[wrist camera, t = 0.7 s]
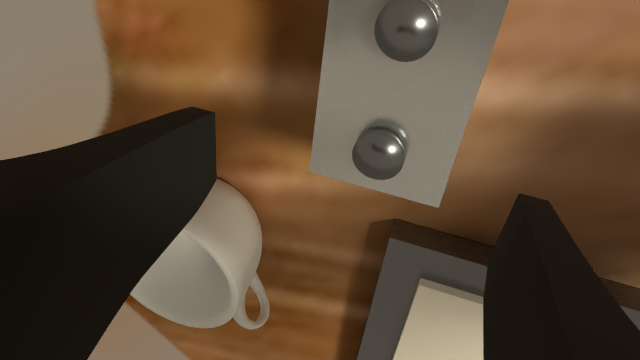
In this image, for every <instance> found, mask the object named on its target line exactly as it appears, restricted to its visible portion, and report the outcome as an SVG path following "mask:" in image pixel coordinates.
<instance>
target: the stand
mask: <svg viewBox="0 0 640 360" xmlns="http://www.w3.org/2000/svg"><path fill="white" fill-rule="evenodd" d="M493 249H494V247H492V246H488V245H485V244H481V243H478V242H474V241H471V240H467V239H464V238H460V237H457V236H453V235H450V234H446V233H443V232H439V231H436V230H433V229H429V228H426V227H422V226H419V225H415V224H412V223H408V222H405V221H401V220H398V219H395V221H394V224H393V228H392V231H391V235H390V238H389V242H388V245H387V249H386V253H385V256H384V260H383V264H382V268H381V271H380V275H379V279H378V282H377V286H376V290H375V294H374V297H373V301H372V305H371V308H370V312H369V316H368V320H367V323H366V327H365V331H364V334H363V338H362V342H361V346H360V349H359V353H358V357H357V360H483V297H484V289H485V281H486V274H487V267H488V260H489V258H490V256H491V253H492V251H493ZM598 278H599V277H598ZM599 279H600V280H601V282H602V283H603V285H604V286H605V287H606V289H607V290H608V291H609V293H610V294H611V295H612V296H613V298H614V299H615V300H616V302H617V303H618V304H619V306H620V307H621V308H622V309H623V311H624V312H625V313H626V315H627V316H628V317H629V318H630V319H631V321H632V322H633V323H634V324H635V325H636V327H637V328H638V329H639V330H640V289H637V288H634V287H630V286H627V285H623V284H620V283H616V282H613V281H610V280H606V279H603V278H599Z"/></svg>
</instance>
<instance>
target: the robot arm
mask: <svg viewBox="0 0 640 360" xmlns="http://www.w3.org/2000/svg"><path fill="white" fill-rule="evenodd" d="M216 180H217V178H216V138H215V113H214V112H210V111H207V110H203V109H199V108H195V107H189V108H185V109H181V110H178V111H174V112H171V113H168V114H165V115H162V116H159V117H156V118H153V119H150V120H147V121H145V122H142V123H139V124H136V125H133V126H130V127H127V128H124V129H121V130H118V131H115V132H112V133H109V134H105V135H102V136H99V137H96V138H92V139H89V140H86V141H82V142H79V143H76V144H72V145H69V146H65V147H61V148H58V149H53V150H50V151H45V152H41V153H36V154H32V155H27V156H23V157H17V158H12V159H6V160H0V360H87V359H88V357H89V356H90V354H91V353H92V351H93V350H94V348H95V346H96V345H97V343H98V342H99V340H100V338H101V337H102V335H103V334H104V332H105V331H106V329H107V327H108V326H109V324H110V323H111V321H112V320H113V318H114V317H115V315H116V314H117V312H118V311H119V309H120V308H121V306H122V305H123V303H124V302H125V300H126V299H127V297H128V296H129V294H130V293H131V291H132V290H133V289H134V287H135V286H136V285H137V284H138V282H139V281H140V280H141V278H142V277H143V276H144V275H145V273H146V272H147V271H148V270H149V269H150V267H151V266H152V265H153V264H154V263H155V262H156V260H157V259H158V258H159V257H160V256H161V254H162V253H163V252H164V251H165V250H166V249H167V247H168V246H169V245H170V244H171V243H172V241H173V240H174V239H175V238H176V237H177V236H178V234H179V233H180V232H181V231H182V230H183V228H184V227H185V226H186V225H187V224H188V222H189V221H190V220H191V219H192V218H193V216H194V215H195V214H196V213H197V211H198V210H199V208H200V207H201V205H202V204H203V202H204V200H205V199H206V197H207V196H208V194H209V192H210V191H211V189H212V187H213V185H214V184H215V182H216ZM483 360H640V330H639V329H638V328H637V327H636V325H635V324H634V323H633V322H632V321H631V319H630V318H629V317H628V316H627V315H626V313H625V312H624V311H623V309H622V308H621V307H620V306H619V304H618V303H617V302H616V300H615V299H614V298H613V296H612V295H611V294H610V293H609V291H608V290H607V289H606V287H605V286H604V285H603V283H602V282H601V280H600V279H599V278H598V276H597V275H596V273H595V272H594V271H593V269H592V268H591V266H590V265H589V263H588V262H587V260H586V259H585V257H584V256H583V254H582V253H581V251H580V250H579V248H578V247H577V245H576V244H575V242H574V240H573V239H572V237H571V236H570V234H569V233H568V231H567V229H566V228H565V226H564V225H563V223H562V221H561V220H560V218H559V217H558V215H557V213H556V212H555V210H554V209H553V207H552V206H551V204H550V203H549V201H546V200H542V199H539V198H535V197H531V196H527V195H523V194H520V193H519V194H518V196H517V199H516V201H515V203H514V205H513V207H512V210H511V212H510V214H509V216H508V218H507V221H506V223H505V225H504V227H503V229H502V231H501V234H500V236H499V238H498V240H497V242H496V245H495V247H494V249H493V251H492V253H491V256H490V258H489V260H488V267H487V274H486V281H485V289H484V297H483Z"/></svg>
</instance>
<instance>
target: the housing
mask: <svg viewBox="0 0 640 360" xmlns="http://www.w3.org/2000/svg"><path fill="white" fill-rule="evenodd" d="M508 1H509V0H329V7H328V16H327V24H326V33H325V41H324V50H323V58H322V67H321V75H320V84H319V92H318V101H317V109H316V118H315V126H314V135H313V143H312V152H311V160H310V169H309V172H312V173H316V174H319V175H323V176H327V177H330V178H334V179H337V180H341V181H344V182H348V183H351V184H355V185H358V186H362V187H366V188H369V189H373V190H376V191H380V192H383V193H387V194H390V195H394V196H398V197H401V198H405V199H408V200H412V201H415V202H419V203H422V204H426V205H429V206H433V207H437V208H439V205H440V203H441V200H442V197H443V194H444V191H445V188H446V185H447V182H448V179H449V176H450V173H451V170H452V167H453V164H454V161H455V158H456V155H457V152H458V149H459V146H460V143H461V140H462V137H463V134H464V131H465V128H466V125H467V122H468V119H469V116H470V114H471V111H472V108H473V105H474V102H475V99H476V96H477V93H478V90H479V87H480V84H481V81H482V78H483V75H484V72H485V69H486V66H487V63H488V60H489V57H490V54H491V51H492V48H493V45H494V42H495V39H496V36H497V33H498V30H499V27H500V25H501V22H502V19H503V16H504V13H505V10H506V7H507V4H508Z"/></svg>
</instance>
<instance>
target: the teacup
mask: <svg viewBox="0 0 640 360" xmlns="http://www.w3.org/2000/svg"><path fill="white" fill-rule="evenodd" d="M261 252H262V231H261V226H260V223H259V220H258V217H257V215H256V213H255V211H254V209H253V207H252V206H251V204H250V203H249V202H248V201H247V199H246V198H245V197H244V196H243V195H242V194H241V193H240V192H239V191H237V190H236V189H235V188H234V187H232V186H231V185H229V184H227V183H226V182H224V181H222V180H219V179H217V180H216V182H215V184H214V185H213V187H212V189H211V191H210V192H209V194H208V196H207V197H206V199H205V200H204V202H203V204H202V205H201V207H200V208H199V210H198V211H197V213H196V214H195V215H194V216H193V218H192V219H191V220H190V221H189V222H188V224H187V225H186V226H185V227H184V228H183V230H182V231H181V232H180V233H179V234H178V236H177V237H176V238H175V239H174V240H173V241H172V243H171V244H170V245H169V246H168V247H167V249H166V250H165V251H164V252H163V253H162V254H161V256H160V257H159V258H158V259H157V260H156V262H155V263H154V264H153V265H152V266H151V267H150V269H149V270H148V271H147V272H146V273H145V275H144V276H143V277H142V278H141V280H140V281H139V282H138V284H137V285H136V286H135V287H134V289H133V290H132V291H131V293H130V295H131V296H132V297H134V298H135V299H136V300H137V301H138V302H140V303H141V304H142V305H144V306H145V307H147V308H148V309H150V310H151V311H153V312H155V313H156V314H158V315H160V316H162V317H164V318H166V319H168V320H170V321H173V322H176V323H178V324H181V325H185V326H189V327H195V328H214V327H218V326H221V325H223V324H225V323H227V322H228V321H229V320H230V319H231V318H232V317H233V318H234V320H235V321H236V322H237V323H238V324H239V325H241V326H242V327H244V328H246V329H256V328H259V327H261V326H262V325H263V324H264V323H265V322H266V321H267V319H268V317H269V314H270V306H269V301H268V297H267V294H266V292H265V289H264V287H263V285H262V283H261V281H260V279H259V277H258V275H257V272H256V270H257V268H258V265H259V261H260V257H261ZM249 286H250V287H251V288H252V289H253V291H254V292H255V293H256V295H257V297H258V299H259V302H260V307H261V312H260V316H259V318H258V319H257V320H256V321H252V320H250V319H249V318H248V317H247V315H246V311H245V295H246V292H247V290H248V288H249Z"/></svg>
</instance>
